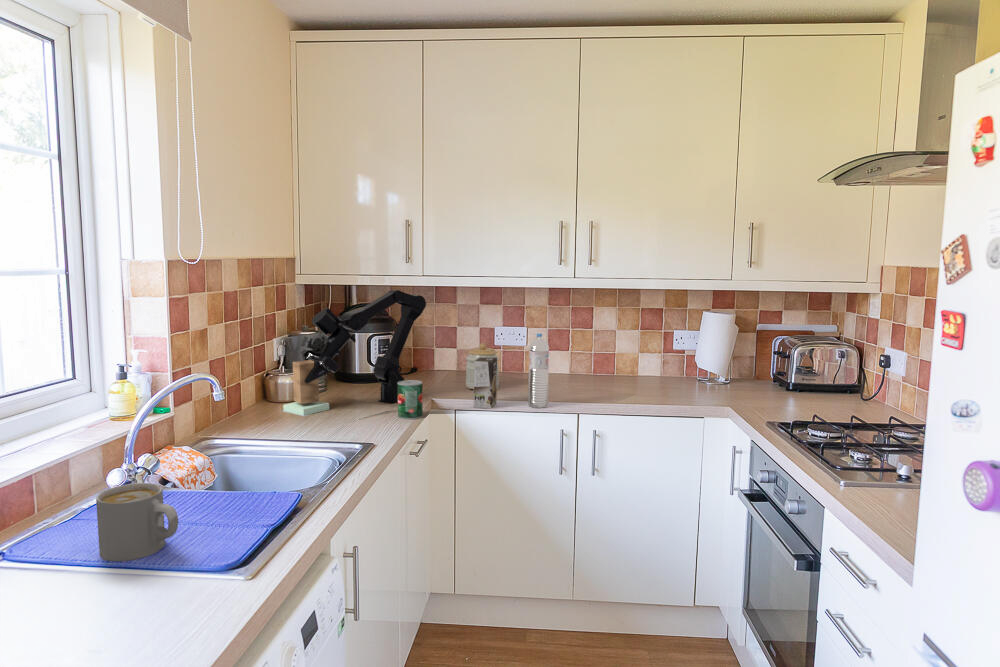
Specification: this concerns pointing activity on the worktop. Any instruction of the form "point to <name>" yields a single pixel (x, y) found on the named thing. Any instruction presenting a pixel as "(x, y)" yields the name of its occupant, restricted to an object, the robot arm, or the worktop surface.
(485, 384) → the coffee box
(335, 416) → the worktop surface
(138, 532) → the coffee mug
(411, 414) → the canned tomato
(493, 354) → the jar
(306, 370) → the walnut post
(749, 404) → the worktop surface
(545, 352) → the water bottle
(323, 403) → the sage top slab
